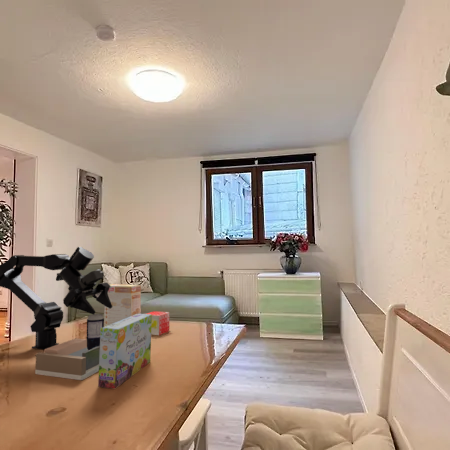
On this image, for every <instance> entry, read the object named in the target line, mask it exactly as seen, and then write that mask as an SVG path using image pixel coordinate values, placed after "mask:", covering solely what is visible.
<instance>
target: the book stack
mask: <svg viewBox="0 0 450 450" xmlns="http://www.w3.org/2000/svg"><path fill="white" fill-rule="evenodd" d="M43 351H44V353H53V354H62V355H71V356H80V357H82V353H83V352H85V351H87V338H72V339H70V340H67V341H64V342H60V343H59V344H58V345H55V346H52V347H50V348H47V349H43Z"/></svg>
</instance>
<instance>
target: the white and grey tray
mask: <svg viewBox="0 0 450 450" xmlns="http://www.w3.org/2000/svg"><path fill="white" fill-rule="evenodd" d="M96 373H99V364H98V365H96V366H94V367H92V368H90V369H88V370H86V357H80V356H71V355H62V354H53V353H44V352H43V351H42V352H41V351H40V352H37V353H35V375H40V376H41V375H42V376H47V377H56V378H63V379H69V380H76V381H83V380H85V379H87V378H88V377H91V376H92V375H94V374H96Z"/></svg>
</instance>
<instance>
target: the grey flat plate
mask: <svg viewBox="0 0 450 450" xmlns="http://www.w3.org/2000/svg"><path fill="white" fill-rule="evenodd" d="M82 357H86V370H88V369H90V368H92V367H94V366H96V365H98V364H99V357H100V345H99V346H97V347H95V348H92V349H90V350H87V351H85V352H83V353H82Z"/></svg>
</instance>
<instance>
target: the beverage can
mask: <svg viewBox="0 0 450 450" xmlns="http://www.w3.org/2000/svg"><path fill="white" fill-rule="evenodd" d="M103 327H104V313H103V314H101V313H95V314H89V315H88V316H87V319H86V339H87V350H90V349H92V348H95V347H97V346H99V345H100V332H101V328H103Z"/></svg>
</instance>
